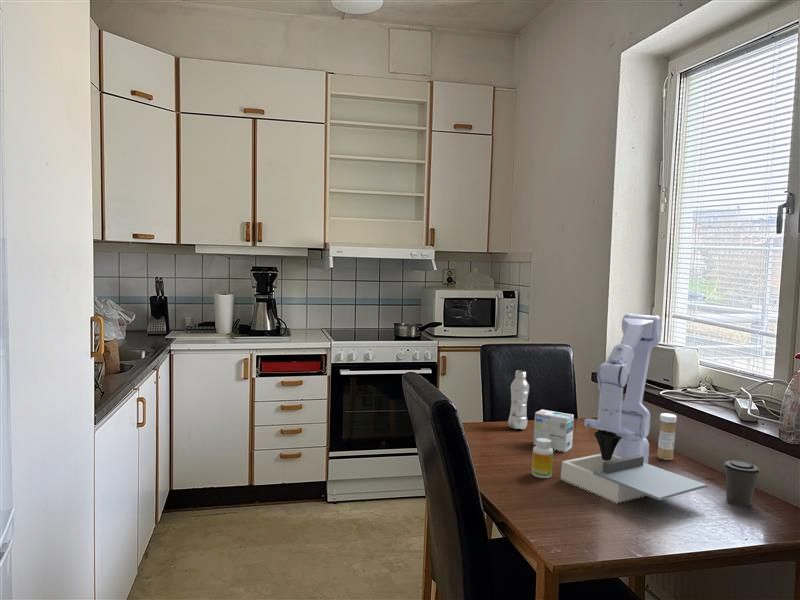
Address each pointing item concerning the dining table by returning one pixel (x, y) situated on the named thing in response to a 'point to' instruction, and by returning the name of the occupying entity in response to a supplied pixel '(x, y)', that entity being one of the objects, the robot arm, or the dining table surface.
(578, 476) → the white square shallow box
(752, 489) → the coffee cup
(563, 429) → the light bulb box
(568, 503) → the dining table surface
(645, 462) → the robot arm
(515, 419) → the plastic bottle
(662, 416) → the sprinkles bottle
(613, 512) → the dining table surface
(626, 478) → the lid
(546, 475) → the supplement bottle
